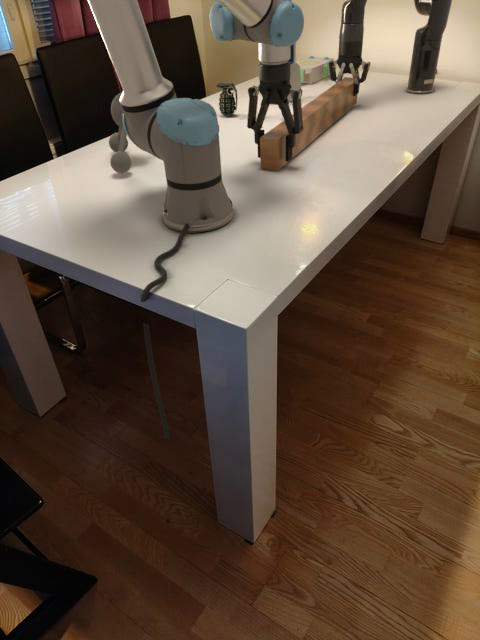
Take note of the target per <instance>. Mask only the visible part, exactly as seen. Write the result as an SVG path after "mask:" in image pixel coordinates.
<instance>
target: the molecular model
mask: <svg viewBox="0 0 480 640" xmlns="http://www.w3.org/2000/svg"><path fill="white" fill-rule="evenodd" d="M106 50H107V49H106ZM107 55H108V57H109V59H110V60H111V58H110V55H109V53H108V50H107ZM122 93H123V91H121V92H119V93H118V94H116V95H115V96H114V98H113V99H112V101H111V105H110V115H111V117H112V120H113V121H114V122H115V124H116V125H117V126H118V132H114V133H112V134H110V136H109V139H108V146H109V148H110V150H112V151H113V152H114V153H112V155H111V157H110V159H109V162H110V167H111V168H112V170H113V171H115V172H116V173H118V174H126V173H127V172H129V170H131V168H132V163H133V162H132V158H131V156H130V155H129V154H128V153H127V152H125V151H126V150H127V149H128V146H129V141H128V138H127V137H128V136H127V134H126V132H125V130H124V126H123V114H124V111H123V108H122V106H121V103H120V98H121V95H122Z"/></svg>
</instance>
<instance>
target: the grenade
mask: <svg viewBox="0 0 480 640" xmlns="http://www.w3.org/2000/svg"><path fill="white" fill-rule="evenodd" d="M215 87H217V88H219V89H221V93H219V97H218V101H219V102H218V106H219V108H218V109H219V112H220V114H221V115H222V116H224V117H231V116H233V115H234V113H235V112H236V111H237V108H238V89H237V87H236V85H235V84H234V83H233V82H218V83H217V84H216V86H215ZM232 91H233V92H232ZM234 94H235V96H234Z"/></svg>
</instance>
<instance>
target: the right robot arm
mask: <svg viewBox="0 0 480 640" xmlns="http://www.w3.org/2000/svg"><path fill="white" fill-rule="evenodd" d="M413 2H414V7H415V10H416V12H417V14H419V15H420V16H424V17H428V19H427V22H426V24H425V25H424V26H421V27H419V28H417V29H416V31H415V33H414V34H415V35H414V39H413V40H414V41H413V47H412V52H411V53H412V54H411V60H410V68H409V73H408V80H407V87H406V91H407V92H408V93H411V94H429V93H432V92H434V84H435V80H436V74H437V73H438V69H437V68H438V64H439V63H438V62H439V57H440V52H441V46H442V41H443V35H444V32H445V30H446V28H447V25H448V20H449V17H450V13H451V12H450V11H451V9H452V2H453V0H413ZM367 3H368V0H345V1H344V2H343V4H342V8H341V18H340V28H339V34H338V39H339V40H338V53H337V54H338V57H337V59H336V60H334V59H333V60H332V61H330V62H329V70H330V76H329V77H330V81H331V82H335V84H336V83H338V82H339V81H340V80H342V79H343V78H344V76H345V74H349V75H351V76H352V78H354V82H355V84H354V92H353V96H356V95H357V94H359V93H360V84H362V83H364V82H365V81H366V80H367V77H368V75H369V70H370V67H371V62H370V61H364V60H363V57H362V55H363V45H364V33H365V22H364V21H365V12H366V11H365V10H366V5H367ZM335 67H336V69H337V67H338V68H339V71H338V74H337V70H336V69H335ZM360 67H361V68H362V73H361V76H360V71H359V68H360Z"/></svg>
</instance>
